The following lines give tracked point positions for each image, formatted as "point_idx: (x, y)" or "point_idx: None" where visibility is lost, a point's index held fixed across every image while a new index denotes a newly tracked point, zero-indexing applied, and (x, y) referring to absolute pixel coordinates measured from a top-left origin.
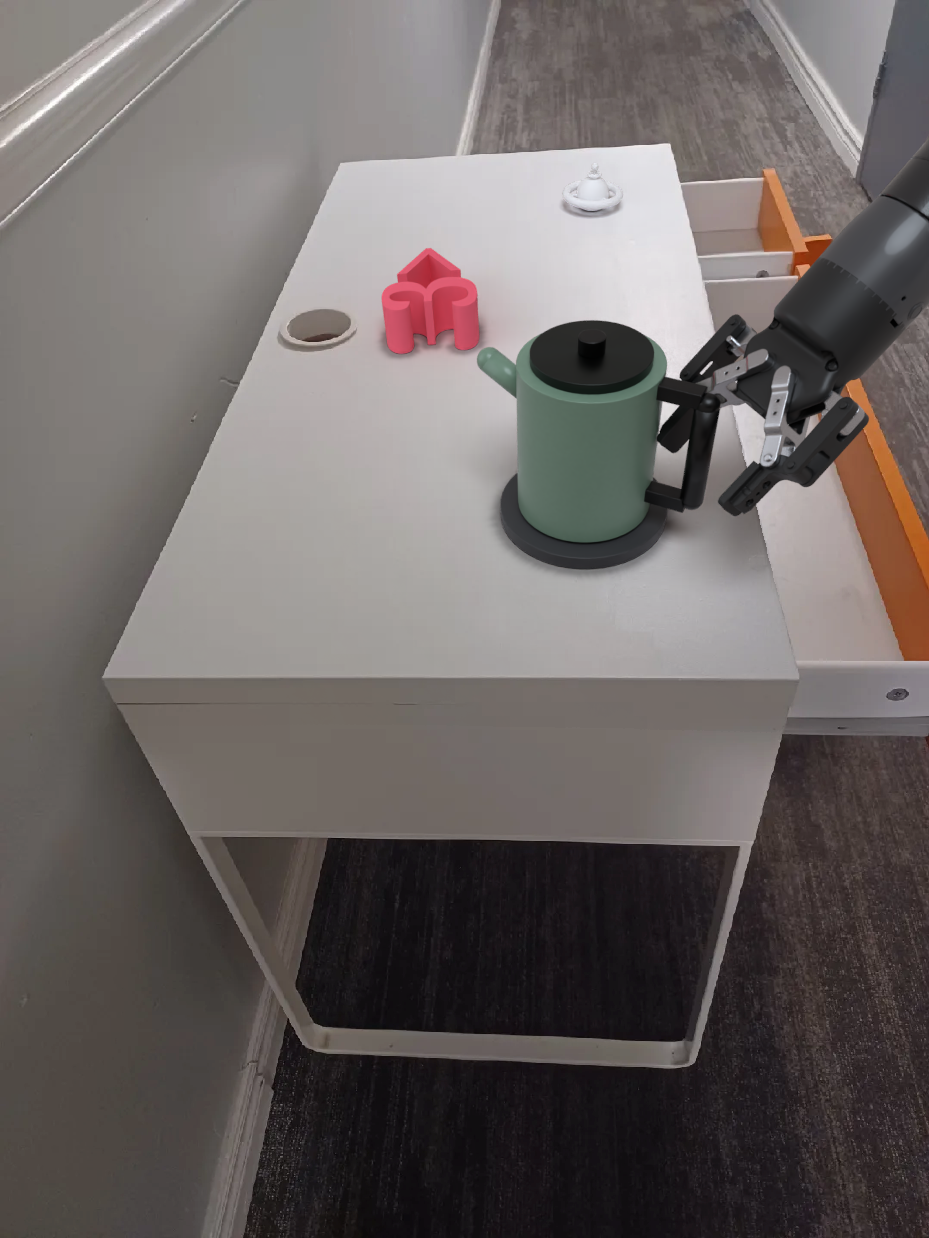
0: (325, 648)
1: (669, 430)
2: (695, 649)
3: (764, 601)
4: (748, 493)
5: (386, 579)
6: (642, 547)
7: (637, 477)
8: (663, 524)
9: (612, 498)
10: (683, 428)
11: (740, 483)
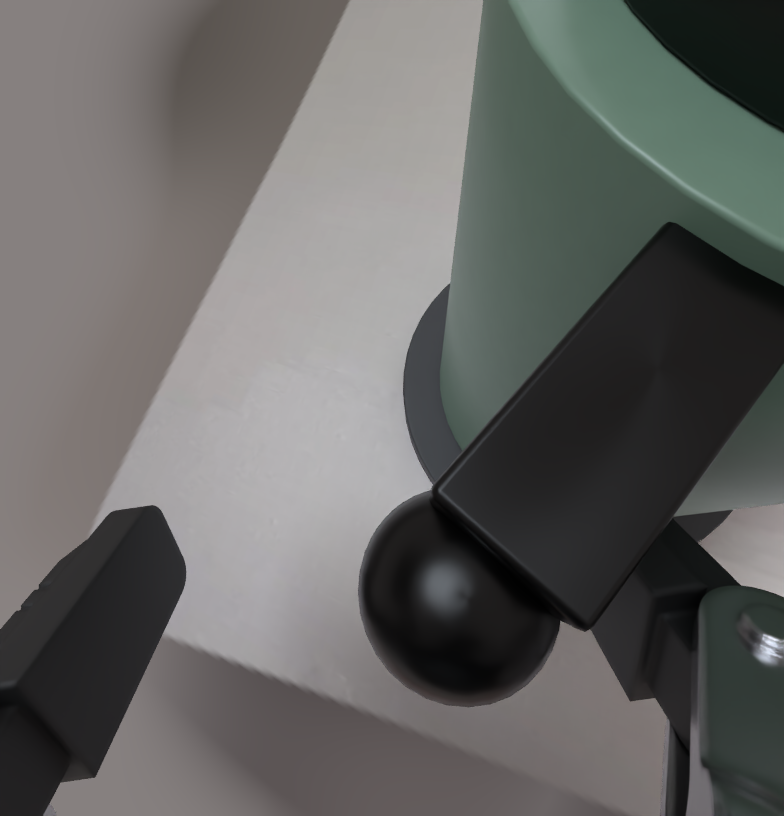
0: (367, 46)
1: None
2: (176, 464)
3: (223, 644)
4: (29, 596)
5: (469, 106)
6: (418, 456)
7: (473, 393)
8: None
9: (447, 341)
10: None
11: (59, 578)
